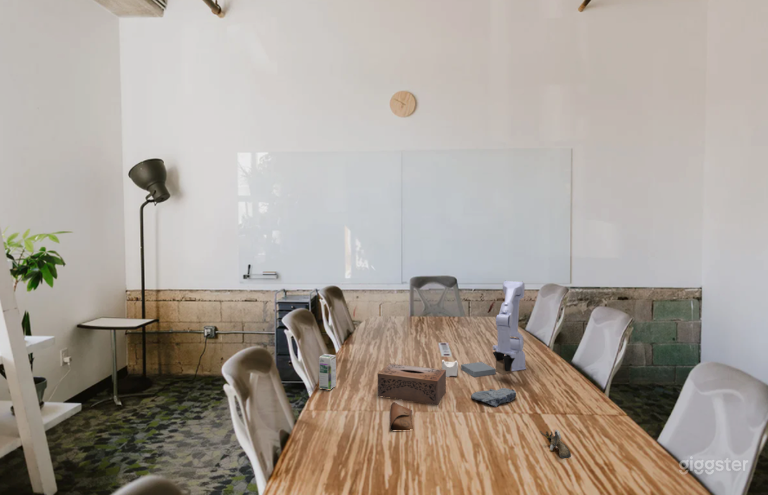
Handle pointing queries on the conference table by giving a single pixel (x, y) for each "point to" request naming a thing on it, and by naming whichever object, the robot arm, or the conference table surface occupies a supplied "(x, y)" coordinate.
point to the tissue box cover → (412, 383)
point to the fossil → (495, 396)
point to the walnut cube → (502, 368)
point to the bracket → (450, 368)
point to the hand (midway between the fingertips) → (503, 369)
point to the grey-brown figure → (557, 444)
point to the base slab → (478, 369)
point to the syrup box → (327, 371)
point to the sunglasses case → (400, 417)
